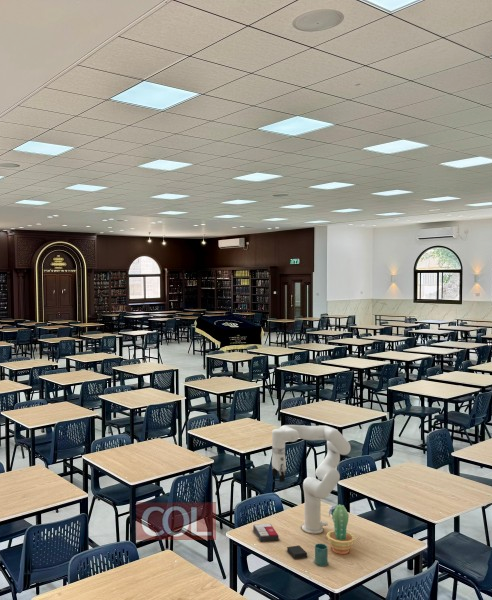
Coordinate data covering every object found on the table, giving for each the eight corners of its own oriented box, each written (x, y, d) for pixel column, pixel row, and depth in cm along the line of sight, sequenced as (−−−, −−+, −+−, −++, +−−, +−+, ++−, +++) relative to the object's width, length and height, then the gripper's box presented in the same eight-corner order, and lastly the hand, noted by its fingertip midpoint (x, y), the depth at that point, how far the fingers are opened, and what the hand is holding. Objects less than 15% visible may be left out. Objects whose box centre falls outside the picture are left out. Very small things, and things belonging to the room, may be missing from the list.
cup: (323, 559, 299) (323, 542, 299) (329, 565, 293) (329, 548, 293) (312, 560, 297) (312, 544, 297) (318, 566, 291) (318, 549, 291)
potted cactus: (343, 541, 319) (343, 499, 319) (361, 553, 305) (361, 509, 304) (320, 546, 314) (320, 502, 313) (337, 558, 300) (337, 513, 299)
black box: (299, 549, 310) (299, 545, 310) (307, 557, 301) (307, 552, 301) (287, 551, 308) (287, 546, 308) (294, 559, 299) (294, 554, 299)
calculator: (260, 535, 319) (253, 523, 334) (260, 542, 320) (253, 530, 334) (278, 534, 321) (270, 522, 336) (278, 541, 321) (270, 529, 336)
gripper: (291, 453, 318) (290, 483, 319) (278, 445, 335) (277, 473, 335) (279, 454, 316) (278, 484, 317) (266, 446, 333) (266, 474, 333)
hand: (278, 478), depth 326 cm, fingers open, 9 cm apart
